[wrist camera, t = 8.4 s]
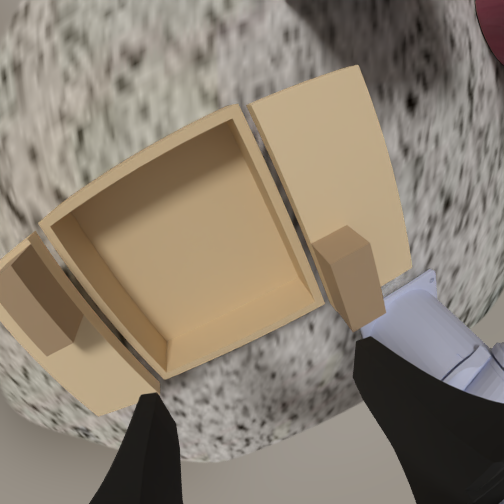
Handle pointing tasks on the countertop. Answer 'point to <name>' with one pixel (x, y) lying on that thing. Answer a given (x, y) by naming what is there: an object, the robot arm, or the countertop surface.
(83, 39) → the countertop surface
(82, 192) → the carton
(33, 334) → the flap left
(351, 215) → the flap right
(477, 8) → the plant pot
